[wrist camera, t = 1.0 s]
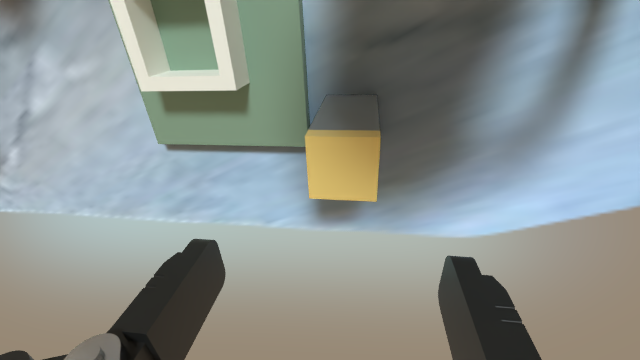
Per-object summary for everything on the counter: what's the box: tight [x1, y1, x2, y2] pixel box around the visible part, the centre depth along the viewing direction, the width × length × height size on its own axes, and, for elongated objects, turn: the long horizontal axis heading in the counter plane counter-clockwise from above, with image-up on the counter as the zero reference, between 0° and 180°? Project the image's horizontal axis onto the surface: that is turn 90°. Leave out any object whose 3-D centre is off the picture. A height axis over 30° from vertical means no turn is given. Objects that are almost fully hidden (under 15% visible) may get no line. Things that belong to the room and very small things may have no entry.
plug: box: [305, 95, 381, 202], centre depth 20 cm, size 4×4×9 cm
